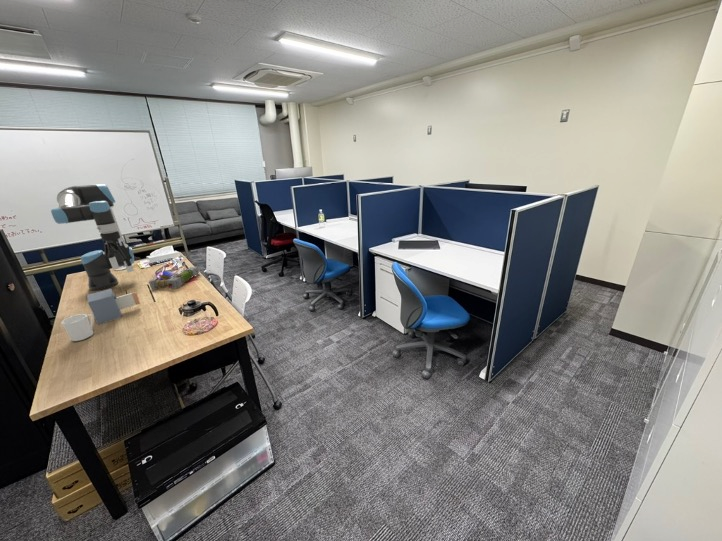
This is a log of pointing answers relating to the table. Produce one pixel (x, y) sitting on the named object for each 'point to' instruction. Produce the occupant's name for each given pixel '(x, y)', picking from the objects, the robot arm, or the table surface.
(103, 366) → the table surface
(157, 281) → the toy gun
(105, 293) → the block
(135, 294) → the slim white post
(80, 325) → the mug
